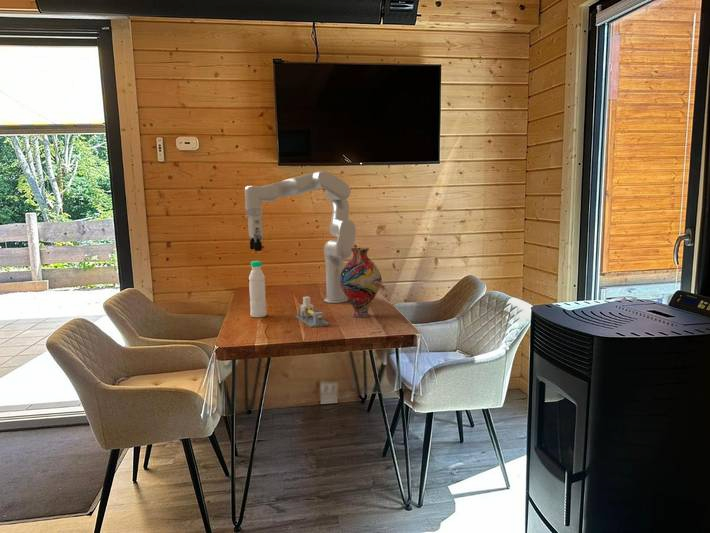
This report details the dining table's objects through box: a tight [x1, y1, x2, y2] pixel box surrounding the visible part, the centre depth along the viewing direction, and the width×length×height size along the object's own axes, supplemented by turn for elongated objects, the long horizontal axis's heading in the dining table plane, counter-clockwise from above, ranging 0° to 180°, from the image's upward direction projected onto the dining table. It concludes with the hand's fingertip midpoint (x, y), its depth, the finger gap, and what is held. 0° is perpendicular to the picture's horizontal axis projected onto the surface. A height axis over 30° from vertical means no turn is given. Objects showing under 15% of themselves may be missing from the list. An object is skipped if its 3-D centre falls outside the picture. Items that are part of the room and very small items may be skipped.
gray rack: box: [295, 306, 330, 328], centre depth 206 cm, size 20×8×5 cm, turn 25°
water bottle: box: [248, 260, 267, 318], centre depth 216 cm, size 7×7×25 cm
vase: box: [339, 247, 383, 318], centre depth 213 cm, size 19×19×30 cm
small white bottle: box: [300, 296, 315, 317], centre depth 211 cm, size 4×5×8 cm
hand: (255, 250), depth 224 cm, fingers open, 9 cm apart
